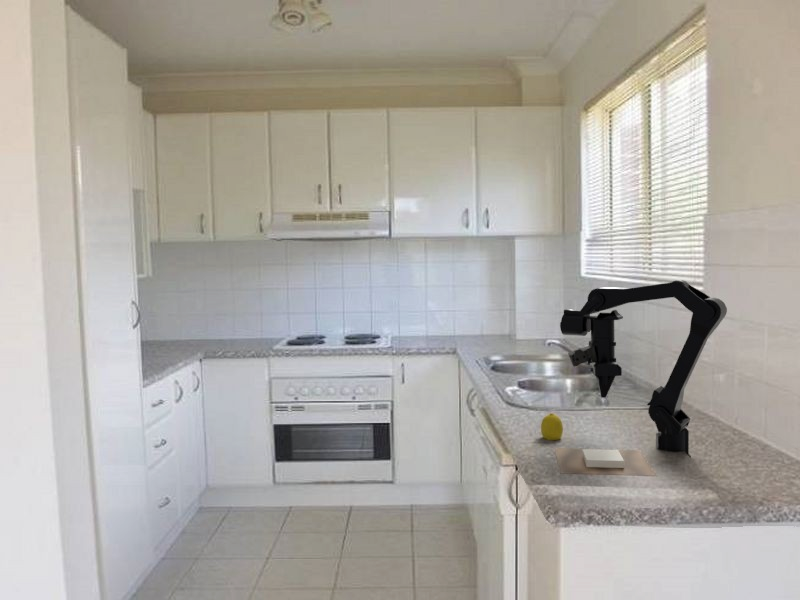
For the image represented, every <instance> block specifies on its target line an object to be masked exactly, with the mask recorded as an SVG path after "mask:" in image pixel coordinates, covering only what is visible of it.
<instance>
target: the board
mask: <svg viewBox="0 0 800 600" xmlns="http://www.w3.org/2000/svg"><path fill="white" fill-rule="evenodd" d="M582 449H583V448H555V447H554V452H555V456H556V463H557V465H558V466H557V467H558V470H559V473H560V474H562V475H563V474H567V475H597V476H599V475H603V476H634V477H636V476H637V477H638V476H639V477H642V476H643V477H658V475H657V473H656V472H655V470H654V469H653V468H652V465H651V464H650V462H648V460H647V458H646V456H645V455H644V453H643V452H642V450H640V449H617V450H618V451H619V452H620V454H621V456H622V458H623V460H624V468H604V467H586V464H585V461H584V459H583V456H582ZM602 450H613V449H607V448H602Z"/></svg>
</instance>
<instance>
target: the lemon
mask: <svg viewBox="0 0 800 600" xmlns="http://www.w3.org/2000/svg"><path fill="white" fill-rule="evenodd" d="M563 426H564V425H563V422H562V419H561V418H560V417H559V416H557V415H556V414H554V413H553V412H550V413H549V414H547V415H545V416H544V417H543V418H542V420H541V423H540V432H541V435H542V437H543V439H545V440H548V441H558V440H560V439H561V438H562V436H563V432H564V427H563Z"/></svg>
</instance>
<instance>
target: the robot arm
mask: <svg viewBox="0 0 800 600" xmlns="http://www.w3.org/2000/svg"><path fill="white" fill-rule="evenodd" d="M670 298H675V299H676V300H677V301H678V302H679V303H680V304H681V305H683V307H685V308H686V309H687V310H689V311H690V312H691V313H692V315H691V319H690V328H689V333H688V336H687V338H686V340H685V342H684V345H683V347H682V350H681V352H680V354H679V355H678V358H677V360H676V363H675V364H674V366H673V369H672V371H671V373H670V375H669V377H668V380H667V381H666V384H665V386H662V385H661V386H659V387H657V388H656V389H654V390H653V391H652V397H651V399H650V401H649V402H648V403H646V406H649V407H648V415H649V418H650V419H651V420H652V421H653V422H654V423H655V426H656V429H657V433H655V447H656V450H658V451H665V452H671V453H682V452H685V454H686V455H688V457H689V458H692V456H691V454H690V453H689V452H690V451H689V450H690V448H689V446H690V445H689V441H690V440H689V439H690V437H689V433H690V432H689V429H687V427H689V424H690V422H691V418H690V417H689V416H688V414H687V413H686V412H685V411H683V409H682V405H683V400H684V393H685V388H686V386H687V384H688V382H689V380H690V378H691V376H692V374H693V371H694V369H695V367H696V366H697V363H698V361H699V359H700V357H701V354H702V351H703V350H704V348H705V345H706V343H707V342H708V339H709V338H710V337H711V336H712V334H713V333H714V332H715V330H716V329H717V328H718V327H719V325H720V324H721V323H722V321H723V320H724V318H725V317H726V316H727V312H728V309H727V306H726V304H725V302H724V301H723V300H721V299H720V298H717V297H710V296H709V295H707V294H706V293H704V292H703V291H701V290H699V289H698V288H695V286H692V285H691V284H689V283H688V282H687V281H685V280H683V279H678V280H673V281H670V282H663V283H662V282H661V283H655V284H650V285H649V284H648V285H643V286H636V287H611V286H603V287H598V288H594V289H592V290H591V291H590V292H589V293H588V295H587V301H586V302H585V303H584V305H583V306H582V308H581V309H571V308H565V309H564V310H563V315H562V317H561V321H560V323H559V327H560V331H561V334H562V335H563V336H578V337H579V336H580V337H581V336H582V337H585V336H586V335H588V333H590V340H589V341H588V345H586V346H584V347H581V348H578V349H574V350H571V351H570V352H567V356H568V357H569V360H570V362H571V365H572V366H573V367H574V368H575V367H579V366H580V365H582V364H584V363H586V365H587V366H590V364H592V367H590V368H589V370H590V372H591V374H593V376H595V377H596V382H597V386H598V390H599V394H600V397H601V399H603V398H604V399H605V398H607V395H608V393H609V391H610V389H611V387H612V384H613V382H614V381H615V378H616V377H621V376H623V375H622V369H623V368H622V366H620V365H619V364H618V363H617V357H616V351H615V349H616V346H617V342H616V341H615V321H619V320H623V318H624V317H623V315H622V314H621V313H619V312H618V310H617V309H614V308H617V307H620V306H624V305H626V304H631V303H640V302H646V301H653V300H654V301H655V300H662V299H670ZM610 309H613V310H611V312H604V311H606V310H610ZM602 311H603V312H602ZM596 313H598V314H597V315H592V314H596Z"/></svg>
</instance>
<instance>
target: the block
mask: <svg viewBox="0 0 800 600" xmlns="http://www.w3.org/2000/svg"><path fill="white" fill-rule="evenodd" d="M581 449H582V456H583V459H584V461H585V464H586V467H604V468H624V460H623V458H622V456H621V454H620V452H619V451H618V450H619V449H612V450H602V449H603V448H602V449H600V448H598V449H597V448H581Z"/></svg>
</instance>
